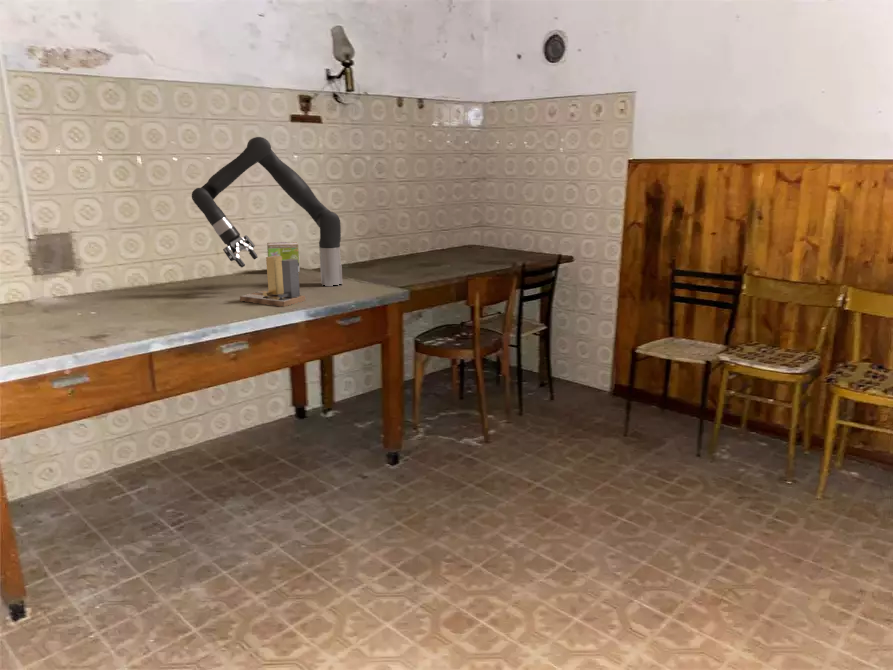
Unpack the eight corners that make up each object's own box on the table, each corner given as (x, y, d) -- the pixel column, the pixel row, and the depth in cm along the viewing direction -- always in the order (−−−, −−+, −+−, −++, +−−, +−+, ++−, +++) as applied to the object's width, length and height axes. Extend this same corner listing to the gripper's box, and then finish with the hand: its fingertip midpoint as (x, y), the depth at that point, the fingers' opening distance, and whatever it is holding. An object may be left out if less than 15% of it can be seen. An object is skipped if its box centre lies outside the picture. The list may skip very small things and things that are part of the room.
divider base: (240, 301, 275) (236, 259, 271) (262, 295, 286) (259, 255, 282) (284, 306, 265) (281, 263, 260) (305, 300, 276) (303, 259, 272)
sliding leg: (261, 296, 272) (258, 258, 268) (277, 292, 280) (274, 255, 276) (268, 297, 270) (265, 259, 266) (284, 293, 278) (282, 256, 274)
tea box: (269, 274, 336) (267, 244, 332) (268, 271, 345) (266, 242, 341) (300, 272, 340) (298, 243, 336) (298, 269, 349) (296, 241, 346)
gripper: (219, 232, 275) (244, 265, 279) (241, 220, 286) (265, 252, 290) (210, 240, 280) (234, 273, 283) (232, 228, 291) (255, 259, 294)
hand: (249, 262), depth 287 cm, fingers open, 8 cm apart
